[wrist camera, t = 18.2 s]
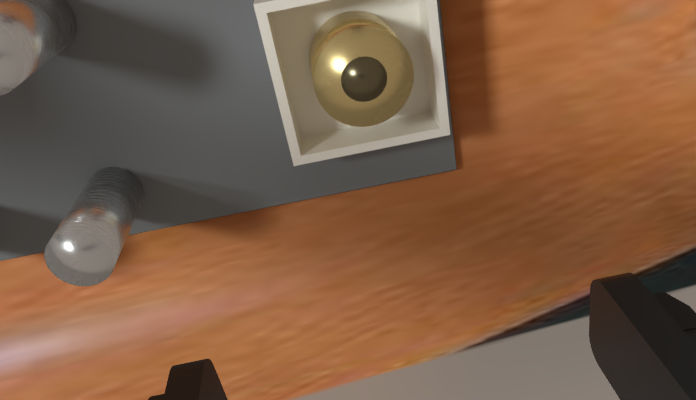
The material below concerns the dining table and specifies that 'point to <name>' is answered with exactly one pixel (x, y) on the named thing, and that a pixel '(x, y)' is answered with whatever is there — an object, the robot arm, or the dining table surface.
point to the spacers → (104, 185)
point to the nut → (360, 69)
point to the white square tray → (298, 89)
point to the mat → (169, 123)
